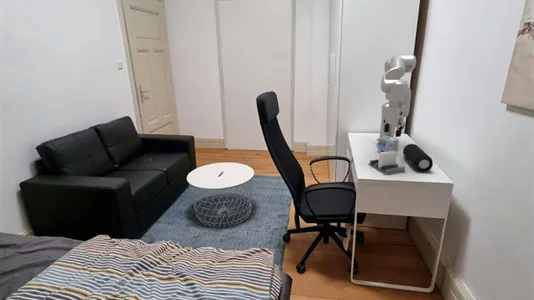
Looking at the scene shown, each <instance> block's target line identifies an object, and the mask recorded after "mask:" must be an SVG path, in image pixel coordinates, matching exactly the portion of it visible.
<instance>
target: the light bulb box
mask: <svg viewBox="0 0 534 300" xmlns="http://www.w3.org/2000/svg"><path fill="white" fill-rule="evenodd" d="M379 137H380V136H379ZM379 137H378V138H379ZM399 140H400V138H399V137H394V138H393V137H389V136H382V137H380V138H379V146H378V147H377V153H378V154H380V153H381V152H388V151H396V152H398V148H399V142H400V141H399Z"/></svg>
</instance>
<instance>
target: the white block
mask: <svg viewBox="0 0 534 300" xmlns="http://www.w3.org/2000/svg"><path fill="white" fill-rule="evenodd" d="M378 154H379V155H378V159H379V162H378V167H379V168H380V166H386V165H393V164H397V159H398V154H399V153H398V151H397V152H396V151H388V152H381V153H378Z"/></svg>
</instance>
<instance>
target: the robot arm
mask: <svg viewBox="0 0 534 300" xmlns="http://www.w3.org/2000/svg"><path fill="white" fill-rule="evenodd" d="M416 64H417V58H416V56H415V55H413V54H396V55H394V56H392V57H391V58H389V59H388V60H386V61H384V72H385V73H384V74H383V75H382V77H381V83H380V90H381V92H382V93H384V94H385V95H384V96H385V99H386V100H387V102H385V103H383V104H382V105H381V121H380V130H379V137H378V138H376V141H377V143H376V144H375V146H376V147H377V148H378V146H379V138H380V137H382V136H389V137H393V138H399V137H401V136H402V131H403V129H404V128H405V126H406V125H407V124H406V122H405V118H407V117H408V116H409V114H410V108H411V107H410V106H411V101H412V100H411V99H412V90H411V89H412V88H410V87H409V84H410V83H408V80H406V79H401V78H403V77H404V76H405V73H406V74H407V73H409V74H410V73H412V72H413V70H414V69H415V67H416Z"/></svg>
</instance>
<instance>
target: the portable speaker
mask: <svg viewBox="0 0 534 300" xmlns="http://www.w3.org/2000/svg"><path fill="white" fill-rule="evenodd" d="M402 153H403V155H404V157H405V158H406V159H407V160H408V162H410V164H411V165H412V166H413V167H414V168H415V169H416V170H417V172H418V171H419V172H423V173H424V172H428V171H430V170H431V169H432V168H433V166H434V163H433V159H432V157H431V156H429V155H428V154H427V153H426V152H425V151H424V150H423V149H421V148H420V146H418V145H417V144H415V143H408V144H407V145H405V146H404V147H403V152H402Z"/></svg>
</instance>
